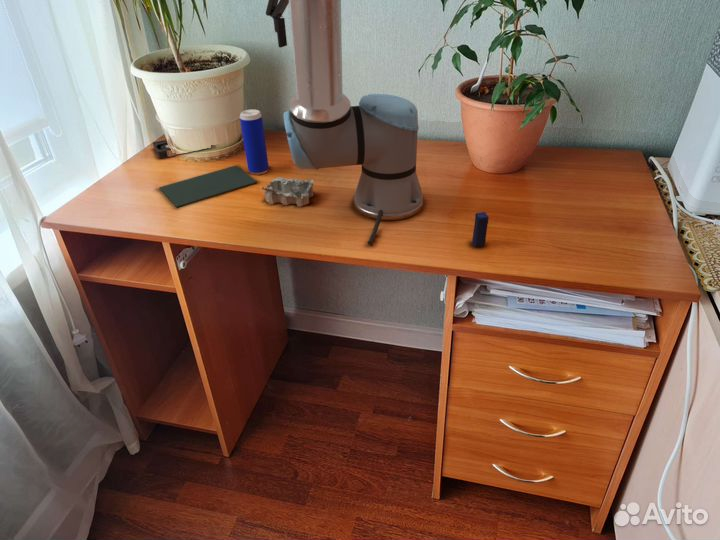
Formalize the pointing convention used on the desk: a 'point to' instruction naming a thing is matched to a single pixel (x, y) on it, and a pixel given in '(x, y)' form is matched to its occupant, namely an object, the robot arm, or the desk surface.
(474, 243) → the eraser
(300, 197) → the egg carton
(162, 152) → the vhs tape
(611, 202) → the desk surface
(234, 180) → the mat
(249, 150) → the beverage can
